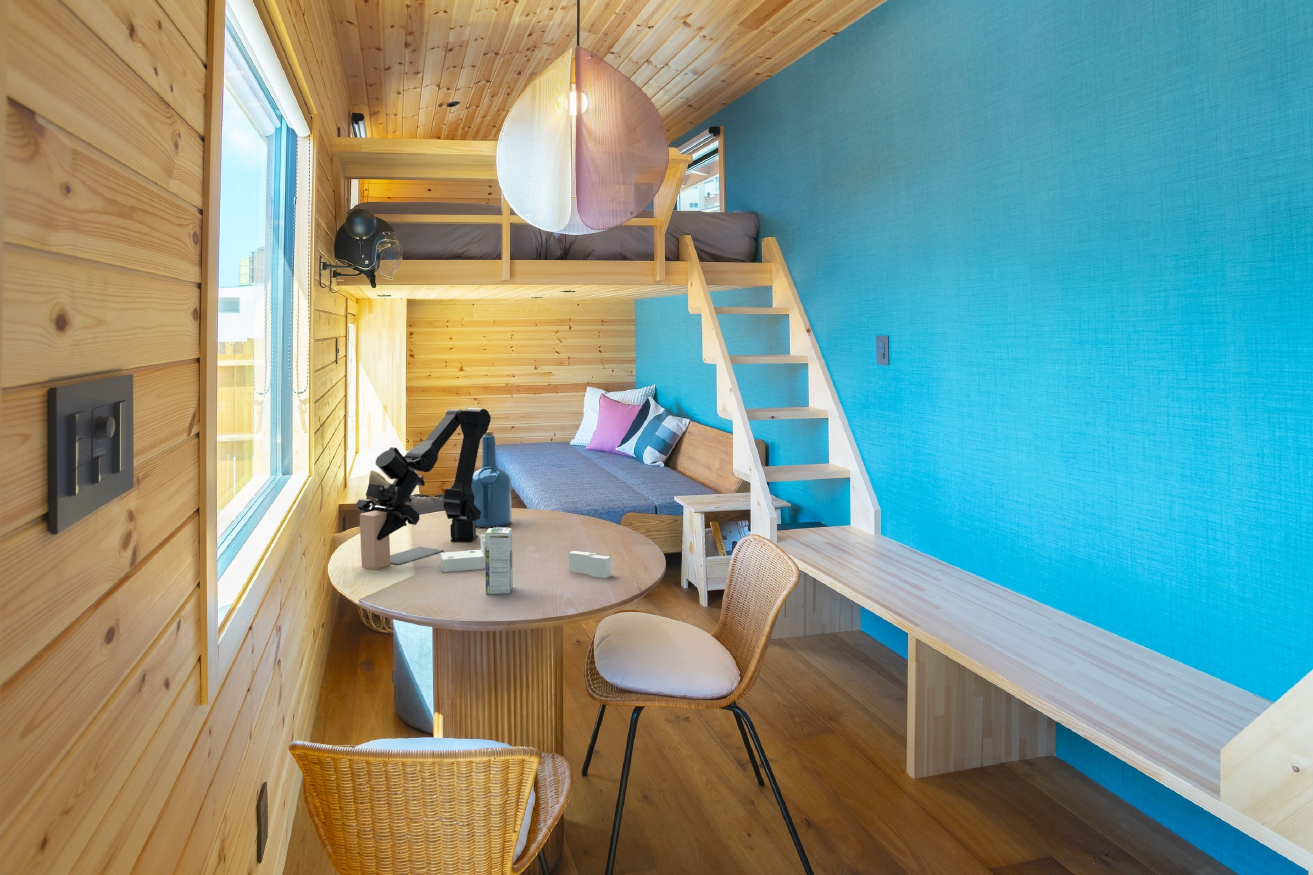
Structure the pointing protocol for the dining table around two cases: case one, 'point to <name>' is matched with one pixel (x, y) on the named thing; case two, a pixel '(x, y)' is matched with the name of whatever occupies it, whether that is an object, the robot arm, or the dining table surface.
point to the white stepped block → (590, 564)
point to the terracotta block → (373, 540)
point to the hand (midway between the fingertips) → (370, 538)
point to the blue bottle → (491, 488)
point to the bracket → (464, 559)
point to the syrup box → (498, 560)
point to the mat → (412, 555)
